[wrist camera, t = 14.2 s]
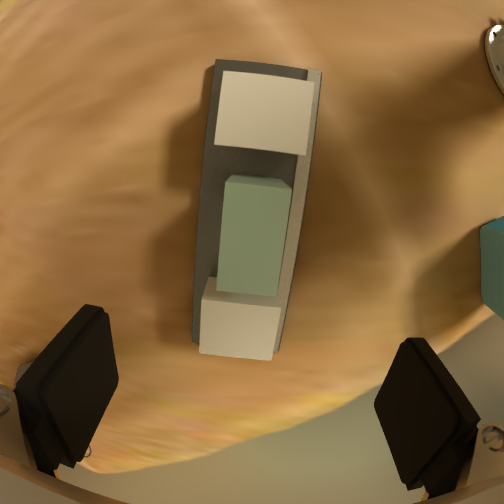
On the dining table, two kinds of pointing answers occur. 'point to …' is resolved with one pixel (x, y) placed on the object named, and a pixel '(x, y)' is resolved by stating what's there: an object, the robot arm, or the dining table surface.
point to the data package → (493, 265)
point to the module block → (252, 234)
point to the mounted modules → (261, 138)
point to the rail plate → (256, 164)
